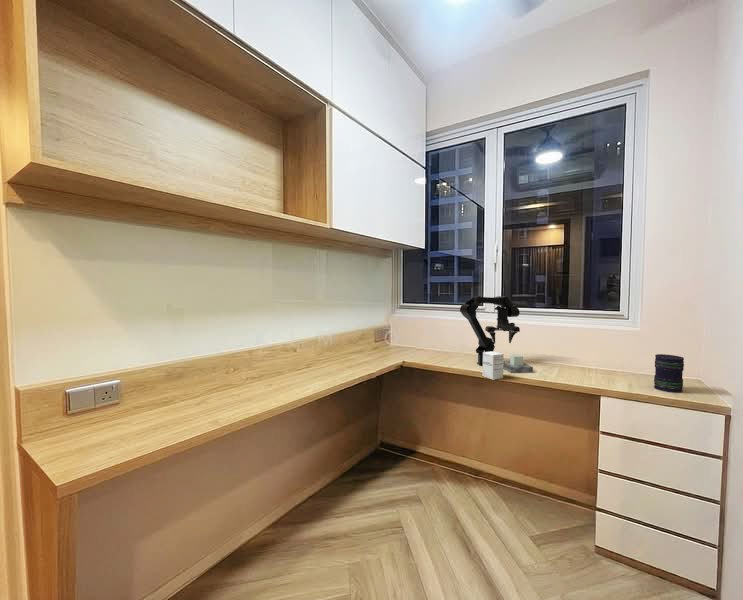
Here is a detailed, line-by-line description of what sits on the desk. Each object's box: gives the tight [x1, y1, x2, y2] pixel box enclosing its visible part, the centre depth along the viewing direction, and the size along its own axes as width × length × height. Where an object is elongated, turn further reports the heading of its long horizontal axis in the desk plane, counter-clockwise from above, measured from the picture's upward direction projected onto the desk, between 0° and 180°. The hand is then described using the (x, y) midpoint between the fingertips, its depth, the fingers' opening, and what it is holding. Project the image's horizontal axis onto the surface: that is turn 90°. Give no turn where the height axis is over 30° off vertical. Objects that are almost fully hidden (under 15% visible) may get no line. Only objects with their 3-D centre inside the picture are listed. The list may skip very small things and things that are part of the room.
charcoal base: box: [503, 361, 534, 374], centre depth 187 cm, size 12×12×3 cm
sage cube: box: [509, 354, 524, 366], centre depth 186 cm, size 5×5×5 cm
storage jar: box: [653, 353, 685, 394], centre depth 152 cm, size 10×10×15 cm
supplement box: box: [482, 350, 505, 381], centre depth 172 cm, size 7×7×13 cm
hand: (502, 343), depth 202 cm, fingers open, 9 cm apart
